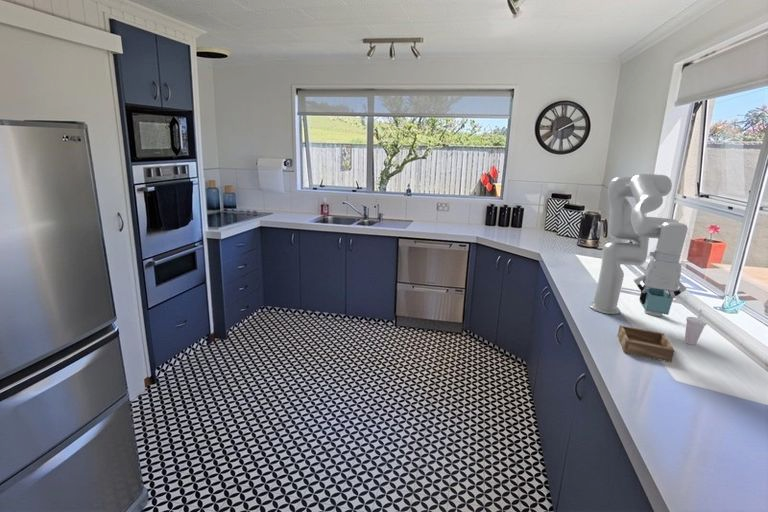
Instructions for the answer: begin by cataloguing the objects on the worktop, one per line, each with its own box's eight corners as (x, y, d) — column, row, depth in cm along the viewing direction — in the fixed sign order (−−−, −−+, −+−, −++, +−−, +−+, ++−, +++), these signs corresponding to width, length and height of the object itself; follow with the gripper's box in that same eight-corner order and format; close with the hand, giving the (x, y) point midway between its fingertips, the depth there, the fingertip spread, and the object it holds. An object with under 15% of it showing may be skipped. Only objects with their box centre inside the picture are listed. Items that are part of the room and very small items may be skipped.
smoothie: (691, 347, 159) (701, 313, 155) (676, 339, 165) (685, 306, 161) (704, 346, 161) (714, 312, 157) (688, 338, 166) (698, 305, 163)
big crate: (617, 335, 164) (619, 325, 163) (660, 344, 160) (663, 333, 158) (623, 352, 151) (626, 341, 150) (671, 362, 146) (674, 350, 145)
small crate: (639, 301, 157) (643, 286, 155) (661, 305, 154) (665, 289, 153) (645, 310, 147) (649, 295, 146) (668, 314, 145) (672, 298, 144)
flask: (645, 309, 195) (650, 289, 192) (663, 314, 191) (668, 293, 188) (642, 313, 190) (647, 293, 187) (661, 318, 185) (666, 297, 183)
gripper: (640, 256, 145) (629, 303, 150) (699, 264, 140) (685, 313, 144) (636, 251, 152) (625, 296, 157) (692, 258, 146) (679, 305, 151)
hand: (654, 304), depth 151 cm, fingers closed on small crate, 7 cm apart
